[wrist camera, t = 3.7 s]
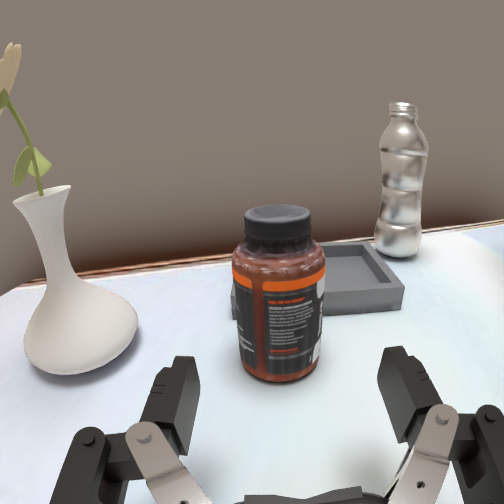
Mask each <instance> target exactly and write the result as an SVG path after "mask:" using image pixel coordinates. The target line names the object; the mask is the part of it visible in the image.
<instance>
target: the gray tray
mask: <svg viewBox="0 0 504 504" xmlns="http://www.w3.org/2000/svg"><path fill="white" fill-rule="evenodd" d="M318 244H319V245H320V246H321V247H322V249H323V251H324V254H325V285H324V300H323V316H329V315H344V314H358V313H370V312H381V311H392V310H400V309H401V304H402V299H403V294H404V289H405V286H404V285H403V284H402V283H401V281H400V280H399V279H398V278H397V276H396V275H395V274H394V273H393V271H392V270H391V269H390V268H389V266H388V265H387V264H386V263H385V262H384V260H383V259H382V258H381V257H380V256H379V254H378V253H377V252H376V251H375V250H374V248H373V247H372V246H371V245H370V244H369V243H368V241H367V242H335V243H318ZM231 304H232V315H233V319H237V318H236V308H235V296H234V285H232V291H231Z"/></svg>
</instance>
